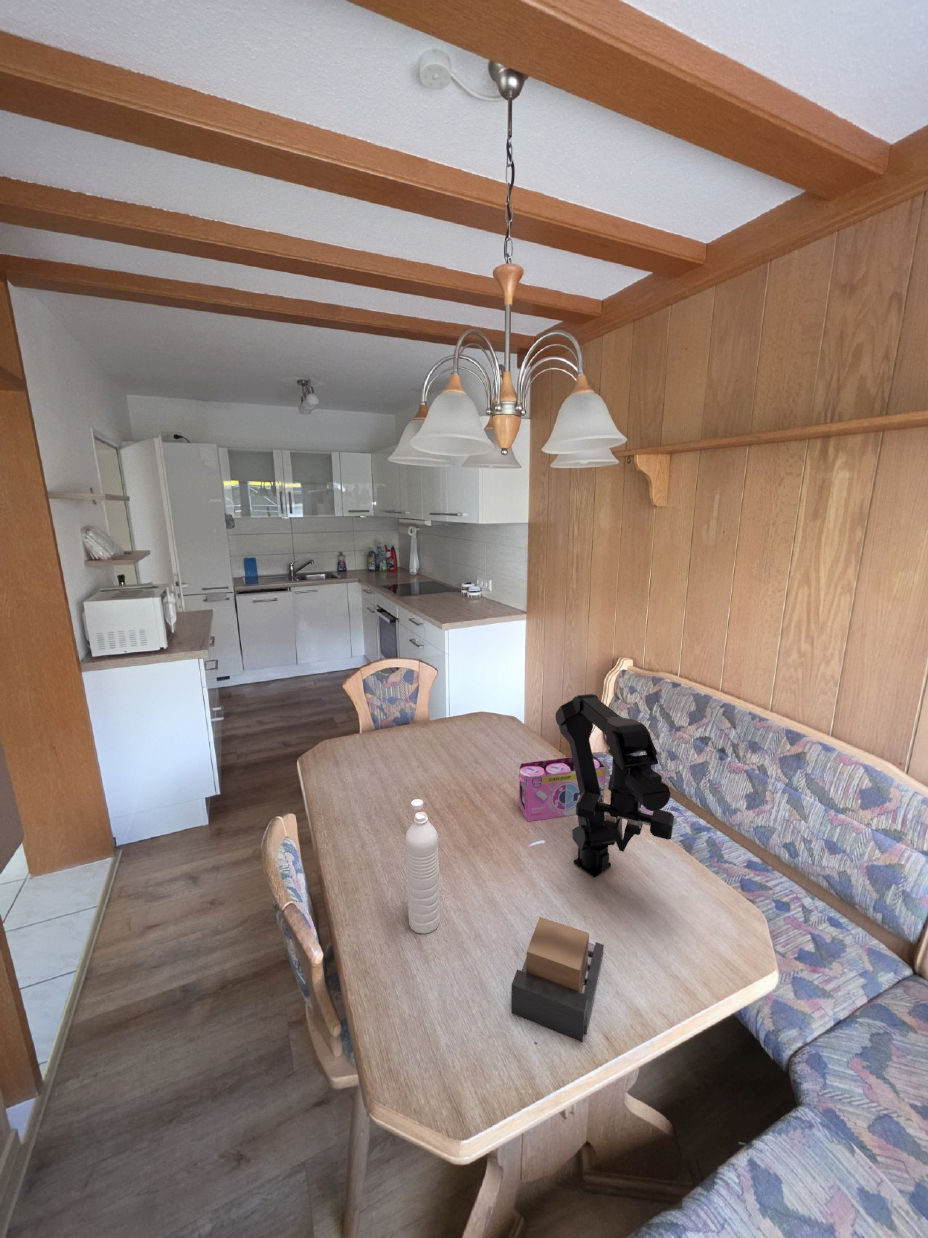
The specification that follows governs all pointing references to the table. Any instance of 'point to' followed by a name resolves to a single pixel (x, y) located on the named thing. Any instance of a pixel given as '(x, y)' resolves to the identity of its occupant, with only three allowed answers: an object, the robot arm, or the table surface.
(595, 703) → the robot arm
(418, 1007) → the table surface
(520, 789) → the gum box
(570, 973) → the brown cardboard box
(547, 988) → the roller bed
